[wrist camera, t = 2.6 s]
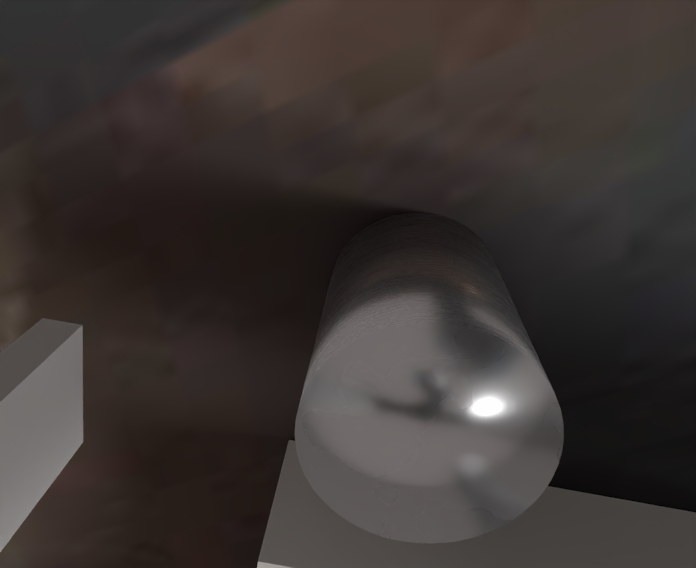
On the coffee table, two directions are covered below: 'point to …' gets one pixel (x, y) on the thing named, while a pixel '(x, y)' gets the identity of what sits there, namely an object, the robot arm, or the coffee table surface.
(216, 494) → the coffee table surface
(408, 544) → the scale
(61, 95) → the coffee table surface
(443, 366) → the cylinder
